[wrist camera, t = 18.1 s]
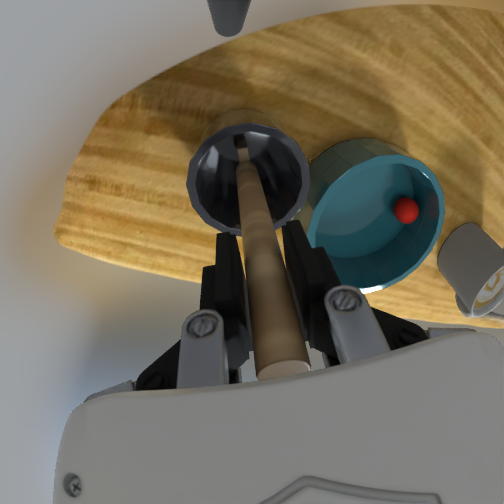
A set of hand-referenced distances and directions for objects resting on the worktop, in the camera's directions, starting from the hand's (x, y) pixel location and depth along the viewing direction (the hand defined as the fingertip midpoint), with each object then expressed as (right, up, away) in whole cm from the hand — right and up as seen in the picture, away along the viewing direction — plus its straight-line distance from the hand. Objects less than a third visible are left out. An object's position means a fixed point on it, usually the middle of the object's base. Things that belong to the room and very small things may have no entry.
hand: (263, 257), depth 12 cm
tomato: (+17, +5, +16) cm, 24 cm away
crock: (-1, +10, +14) cm, 17 cm away
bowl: (+12, +5, +18) cm, 22 cm away
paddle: (-1, +9, +13) cm, 16 cm away
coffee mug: (+32, -1, +25) cm, 41 cm away
